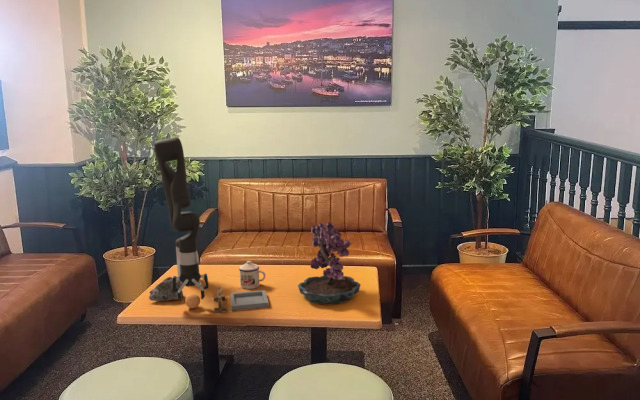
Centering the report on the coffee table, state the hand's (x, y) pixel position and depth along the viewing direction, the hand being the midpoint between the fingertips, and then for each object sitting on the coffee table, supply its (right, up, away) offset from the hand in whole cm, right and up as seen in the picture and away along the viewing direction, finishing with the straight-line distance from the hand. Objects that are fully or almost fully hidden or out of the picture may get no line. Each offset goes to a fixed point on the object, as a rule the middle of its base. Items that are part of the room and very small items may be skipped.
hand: (191, 299), depth 224 cm
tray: (+23, -2, +6) cm, 24 cm away
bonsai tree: (+57, 0, +13) cm, 58 cm away
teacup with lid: (+22, +1, +25) cm, 34 cm away
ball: (0, -1, +1) cm, 1 cm away
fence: (+11, -3, +3) cm, 12 cm away
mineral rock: (-13, -2, +12) cm, 18 cm away
